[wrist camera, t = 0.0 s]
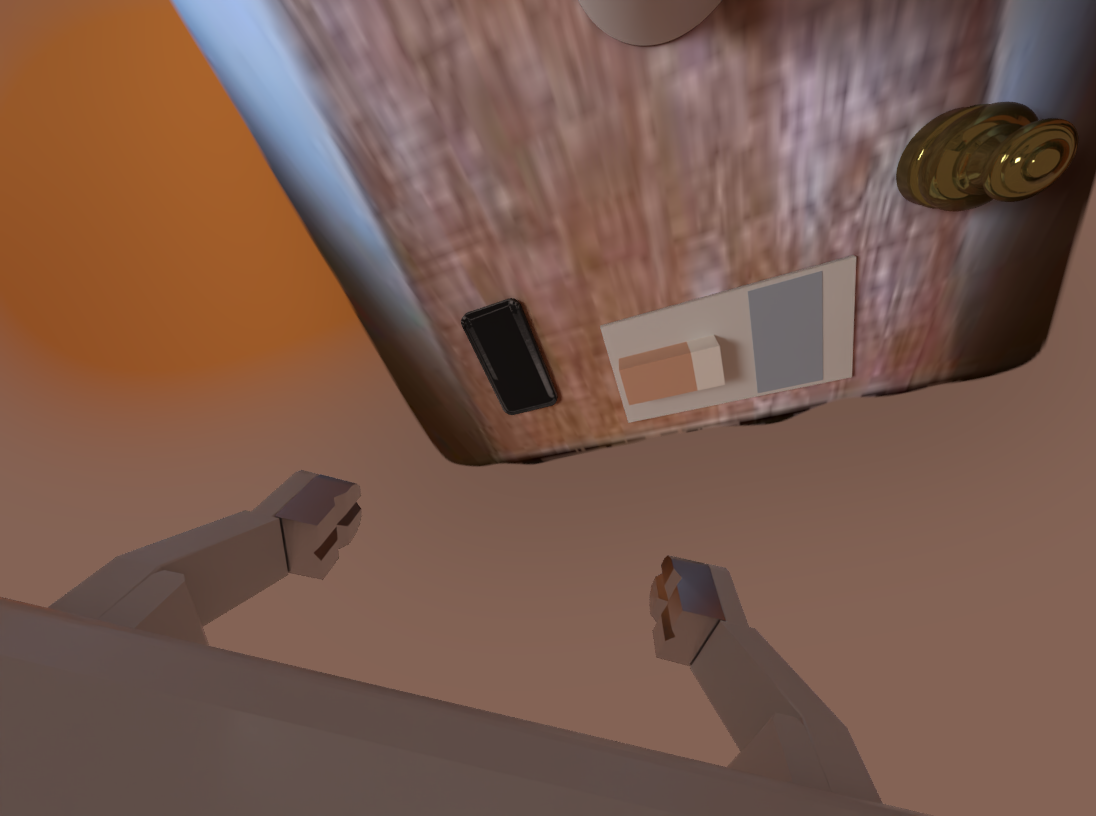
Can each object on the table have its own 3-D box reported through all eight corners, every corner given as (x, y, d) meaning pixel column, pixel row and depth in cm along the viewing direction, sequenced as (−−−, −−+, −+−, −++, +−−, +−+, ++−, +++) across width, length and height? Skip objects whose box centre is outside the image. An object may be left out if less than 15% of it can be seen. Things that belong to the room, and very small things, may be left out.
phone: (516, 297, 46) (559, 403, 53) (517, 294, 47) (560, 399, 54) (457, 317, 49) (505, 416, 56) (459, 314, 50) (507, 412, 57)
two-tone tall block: (628, 392, 51) (629, 405, 49) (618, 358, 49) (618, 370, 46) (719, 372, 48) (725, 384, 46) (713, 334, 46) (719, 345, 43)
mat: (600, 325, 48) (600, 327, 47) (853, 255, 40) (856, 256, 40) (628, 420, 54) (628, 423, 54) (849, 374, 47) (852, 377, 46)
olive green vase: (920, 223, 38) (1006, 245, 30) (876, 165, 36) (955, 171, 28) (1013, 151, 34) (1141, 153, 26) (969, 82, 32) (1092, 61, 24)
